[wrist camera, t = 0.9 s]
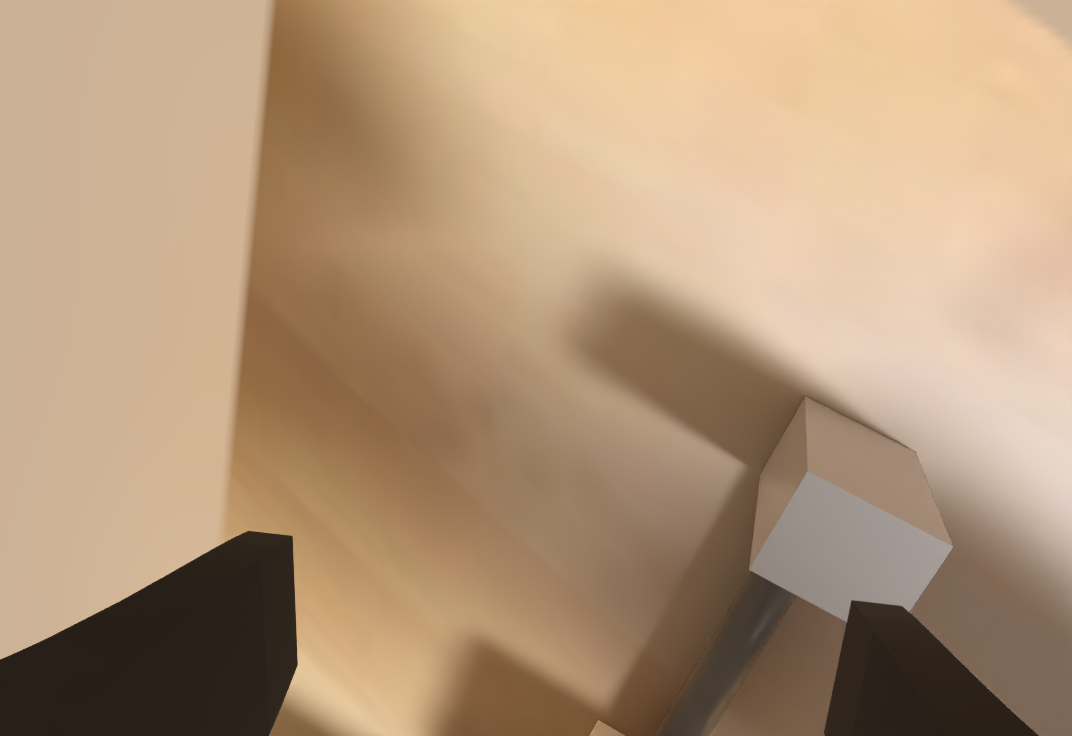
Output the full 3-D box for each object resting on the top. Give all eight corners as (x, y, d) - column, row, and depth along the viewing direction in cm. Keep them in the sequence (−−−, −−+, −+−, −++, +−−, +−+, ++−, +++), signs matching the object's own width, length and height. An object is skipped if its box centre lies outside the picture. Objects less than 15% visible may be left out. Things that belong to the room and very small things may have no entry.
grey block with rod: (934, 461, 23) (978, 559, 17) (645, 910, 28) (606, 1098, 23) (787, 386, 24) (784, 458, 18) (529, 840, 29) (464, 1006, 23)
